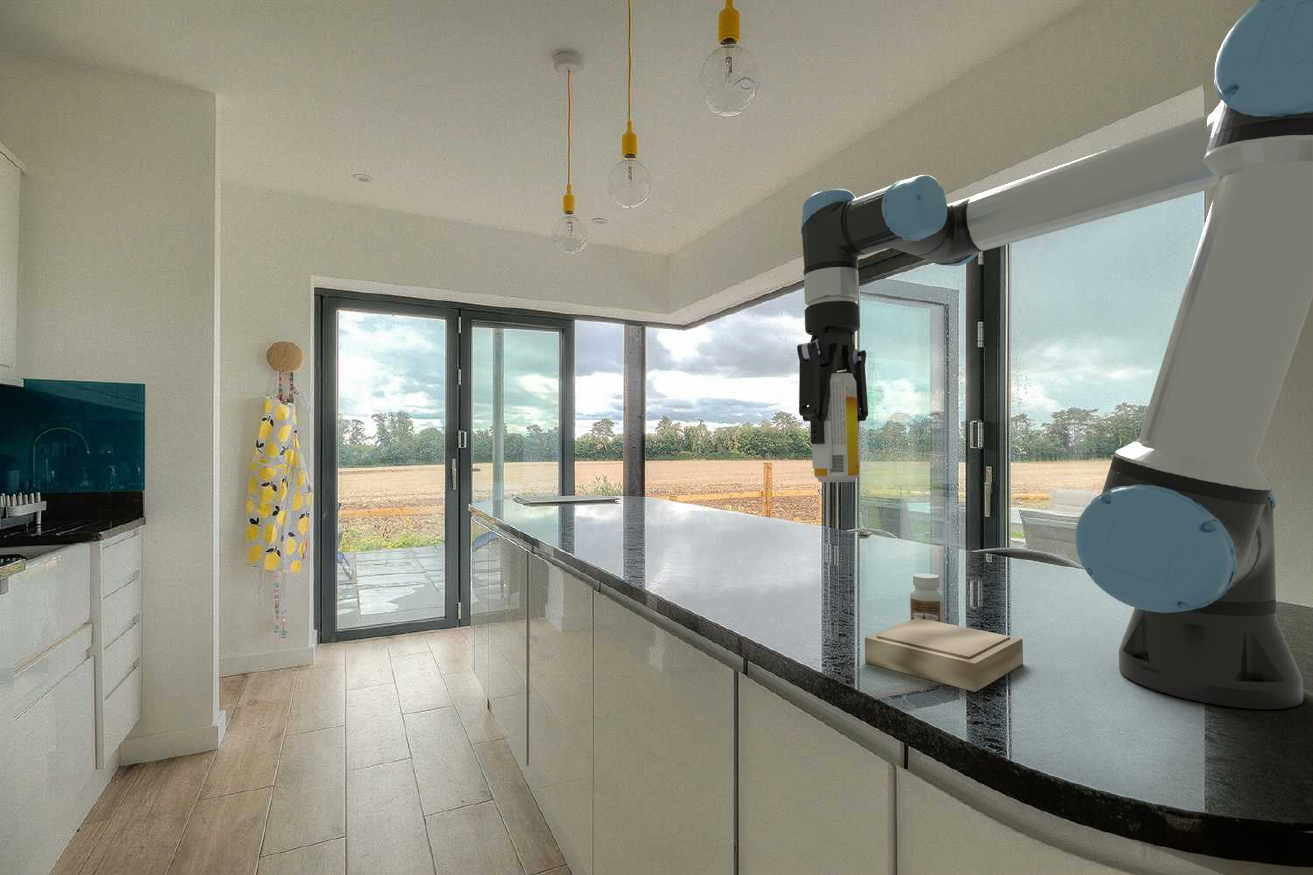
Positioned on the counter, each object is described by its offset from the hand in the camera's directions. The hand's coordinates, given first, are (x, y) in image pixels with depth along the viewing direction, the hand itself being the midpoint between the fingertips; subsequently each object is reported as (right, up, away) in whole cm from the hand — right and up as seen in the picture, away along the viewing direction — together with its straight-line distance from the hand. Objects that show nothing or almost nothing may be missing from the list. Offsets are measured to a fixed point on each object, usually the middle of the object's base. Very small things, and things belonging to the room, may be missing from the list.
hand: (836, 467), depth 91 cm
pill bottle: (+13, -23, 0) cm, 27 cm away
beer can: (0, -2, 0) cm, 2 cm away
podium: (+9, -23, -14) cm, 28 cm away
